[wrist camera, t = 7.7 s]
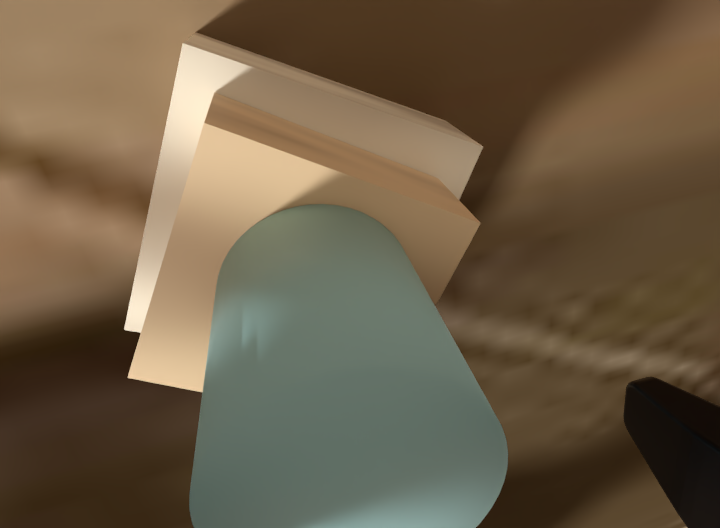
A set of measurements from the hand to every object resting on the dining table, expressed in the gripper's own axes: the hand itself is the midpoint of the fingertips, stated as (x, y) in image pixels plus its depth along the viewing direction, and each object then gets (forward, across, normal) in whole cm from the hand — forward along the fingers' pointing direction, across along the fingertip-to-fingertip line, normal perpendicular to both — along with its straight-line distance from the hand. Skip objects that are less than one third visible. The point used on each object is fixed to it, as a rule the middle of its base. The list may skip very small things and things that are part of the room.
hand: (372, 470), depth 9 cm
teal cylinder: (+6, 0, 0) cm, 6 cm away
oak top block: (+9, +1, 0) cm, 9 cm away
